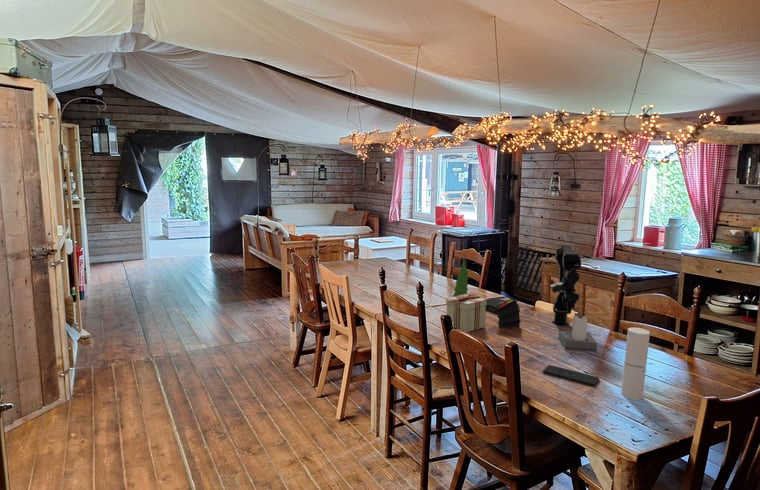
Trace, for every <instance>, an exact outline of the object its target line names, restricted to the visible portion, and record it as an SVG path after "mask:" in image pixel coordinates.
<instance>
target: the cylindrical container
mask: <svg viewBox="0 0 760 490" xmlns="http://www.w3.org/2000/svg"><path fill="white" fill-rule="evenodd" d="M650 334H651V331H649V330H647V329H645V328H641V327H629V328H627V335H626V345H625V353H624V362H623V363H624V364H623V370H622V371H623V372H622V373H623V374H622V382H621V391H620V392H621V396H623V398H626V399H629V400H634V401H640V400H639V399H641V400H642V399H643V396H644V389H645V379H646V373H647V372H646V371H647V370H646V369H647V364H648V363H647V362H648V353H649V344H650V336H651V335H650Z"/></svg>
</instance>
